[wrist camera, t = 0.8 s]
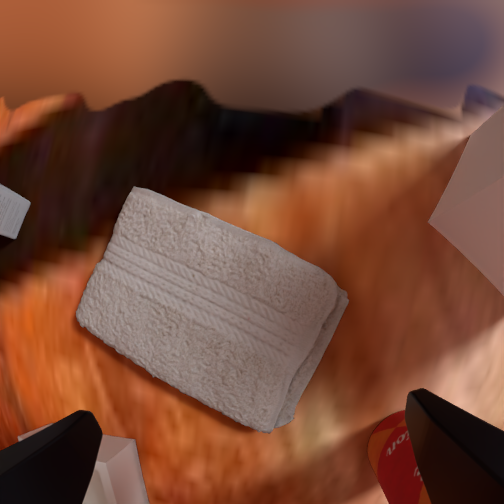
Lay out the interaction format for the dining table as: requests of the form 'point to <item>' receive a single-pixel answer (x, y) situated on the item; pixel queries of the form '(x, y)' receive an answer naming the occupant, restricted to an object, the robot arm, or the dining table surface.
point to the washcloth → (212, 309)
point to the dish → (113, 472)
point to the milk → (477, 201)
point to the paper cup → (396, 462)
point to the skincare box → (11, 212)
